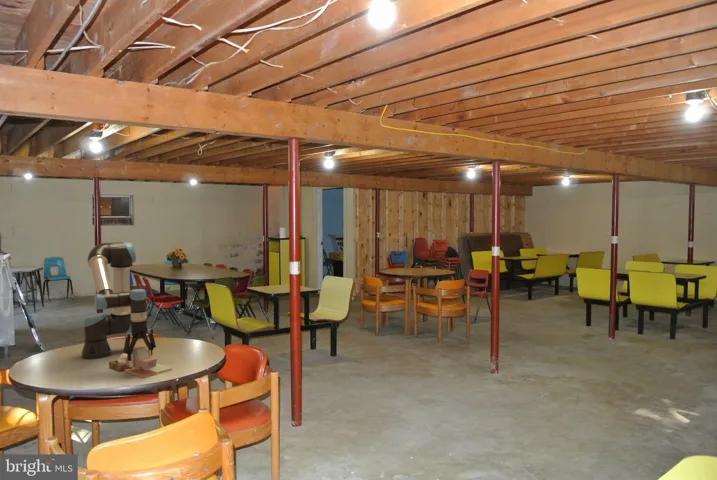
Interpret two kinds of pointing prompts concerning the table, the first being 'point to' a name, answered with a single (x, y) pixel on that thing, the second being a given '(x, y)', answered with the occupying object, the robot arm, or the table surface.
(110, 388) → the table surface
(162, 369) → the board
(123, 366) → the dome housing
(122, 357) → the dome
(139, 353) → the toy car
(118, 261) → the robot arm
